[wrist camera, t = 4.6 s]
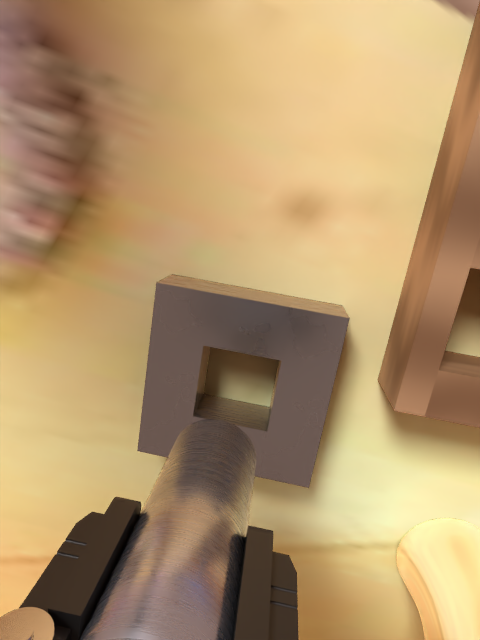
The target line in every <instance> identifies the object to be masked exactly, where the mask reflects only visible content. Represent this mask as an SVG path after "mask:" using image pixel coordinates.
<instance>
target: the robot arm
mask: <svg viewBox="0 0 480 640" xmlns="http://www.w3.org/2000/svg"><path fill="white" fill-rule="evenodd" d="M140 512H141V502H139V501H134V500H129V499H125V498H120V497H115V498H114V499H113V501H112V502H111V504H110V506H109V507H108V509H107V511H106V512H105V514H100V513H96V512H91V513H90V514H88V515H87V516H86V517H84V518H83V519H82V520H80V521H79V522H77V523H76V525H75V526H74V528H73V529H72V531H71V532H70V533H69V535H68V536H67V538H66V541H65V542H63V544H62V545H61V547H60V548H59V550H58V551H57V554H56V555H55V556H54V557H53V559H52V560H51V562H50V563H49V565H48V566H47V568H46V569H45V571H44V572H43V574H42V575H41V577H40V578H39V580H38V581H37V583H36V584H35V586H34V587H33V589H32V590H31V592H30V593H29V595H28V596H27V598H26V599H25V601H24V602H23V604H22V605H21V606H20V607H19V609H16V610H13V611H11V612H8V613H7V614H5V615H3V616H2V617H0V640H80V638H81V636H82V634H83V632H84V630H85V628H86V626H87V623H88V621H89V619H90V617H91V615H92V613H93V611H94V609H95V607H96V605H97V603H98V601H99V599H100V597H101V594H102V592H103V590H104V588H105V586H106V584H107V582H108V580H109V578H110V576H111V574H112V572H113V570H114V568H115V565H116V563H117V561H118V559H119V557H120V555H121V553H122V551H123V549H124V547H125V545H126V543H127V541H128V539H129V536H130V534H131V532H132V530H133V528H134V526H135V524H136V522H137V520H138V518H139V516H140ZM272 550H273V531H271V530H266V529H262V528H257V527H252V526H248V528H247V533H246V538H245V546H244V554H243V562H242V569H241V577H240V585H239V593H238V600H237V608H236V616H235V624H234V631H233V639H232V640H298V610H297V607H298V605H297V572H296V570H295V568H294V566H293V563H292V561H291V559H290V557H289V555H285V554H280V553H276V552H272Z"/></svg>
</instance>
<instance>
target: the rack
mask: <svg viewBox="0 0 480 640" xmlns="http://www.w3.org/2000/svg"><path fill="white" fill-rule="evenodd" d="M470 268H475V269H480V2H479V6H478V10H477V13H476V17H475V21H474V24H473V28H472V32H471V35H470V39H469V43H468V47H467V50H466V54H465V58H464V61H463V65H462V69H461V73H460V76H459V80H458V84H457V87H456V91H455V95H454V99H453V102H452V106H451V110H450V114H449V117H448V121H447V125H446V128H445V132H444V136H443V140H442V143H441V147H440V151H439V154H438V158H437V162H436V166H435V169H434V173H433V177H432V180H431V184H430V188H429V192H428V195H427V199H426V203H425V206H424V210H423V214H422V218H421V221H420V225H419V229H418V232H417V236H416V240H415V244H414V247H413V251H412V255H411V258H410V262H409V266H408V270H407V273H406V277H405V281H404V284H403V288H402V292H401V296H400V299H399V303H398V307H397V310H396V314H395V318H394V322H393V325H392V329H391V333H390V336H389V340H388V344H387V348H386V351H385V355H384V359H383V363H382V366H381V370H380V374H379V377H378V382H379V383H380V385H381V387H382V389H383V391H384V393H385V395H386V397H387V398H388V400H389V402H390V404H391V406H392V408H393V410H394V411H398V412H403V413H408V414H413V415H418V416H423V417H428V418H433V419H438V420H443V421H448V422H453V423H459V424H464V425H469V426H474V427H479V428H480V357H475V356H470V355H464V354H459V353H454V352H448V351H445V348H446V345H447V342H448V339H449V335H450V332H451V329H452V326H453V322H454V319H455V316H456V313H457V309H458V306H459V303H460V300H461V296H462V293H463V290H464V287H465V284H466V280H467V277H468V274H469V271H470Z"/></svg>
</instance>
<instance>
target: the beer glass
mask: <svg viewBox="0 0 480 640" xmlns="http://www.w3.org/2000/svg"><path fill="white" fill-rule="evenodd" d="M396 561H397V567H398V570H399V573H400V575H401V577H402V579H403V581H404V583H405V585H406V587H407V589H408V590H409V592H410V594H411V596H412V598H413V600H414V602H415V604H416V606H417V609H418V612H419V614H420V618H421V622H422V625H423V631H424V637H425V640H480V528H478V527H477V526H475V525H473V524H471V523H469V522H467V521H464V520H460V519H454V518H438V519H432V520H428V521H425V522H423V523H421V524H419V525H417V526H415V527H414V528H412V529H411V530H410V531H409V532H407V533H406V535H405V536H404V537H403V538H402V540H401V542H400V544H399V546H398V549H397V554H396Z"/></svg>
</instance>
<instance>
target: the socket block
mask: <svg viewBox="0 0 480 640" xmlns="http://www.w3.org/2000/svg"><path fill="white" fill-rule="evenodd" d="M348 322H349V316H348V315H347V313H346V311H345V310H344V308H343V306H342V305H336V304H331V303H325V302H320V301H314V300H309V299H303V298H298V297H292V296H287V295H282V294H276V293H271V292H265V291H260V290H254V289H249V288H243V287H238V286H232V285H227V284H221V283H216V282H211V281H205V280H200V279H194V278H189V277H183V276H178V275H170V276H168V277H166V278H164V279H162V280H160V281H158V282H157V283H156V292H155V301H154V310H153V319H152V327H151V336H150V345H149V354H148V363H147V372H146V380H145V389H144V398H143V407H142V416H141V425H140V433H139V442H138V451H140V452H145V453H149V454H154V455H159V456H163V457H168V456H169V454H170V452H171V450H172V447H173V445H174V443H175V441H176V439H177V437H178V436H179V434H180V433H181V432H182V431H183V430H184V429H185V428H186V427H187V426H189V425H190V424H192V423H194V422H197V421H200V420H204V419H219V420H223V421H227V422H229V423H232V424H234V425H235V426H237V427H239V428H240V429H241V430H242V431H243V432H245V433H246V435H247V436H248V437H249V438H250V440H251V441H252V443H253V445H254V448H255V452H256V468H255V476H257V477H261V478H266V479H271V480H275V481H280V482H285V483H289V484H294V485H299V486H303V487H308V488H309V485H310V481H311V476H312V472H313V468H314V464H315V460H316V456H317V451H318V447H319V443H320V439H321V435H322V431H323V426H324V422H325V418H326V414H327V410H328V406H329V401H330V397H331V393H332V389H333V385H334V381H335V376H336V372H337V368H338V364H339V360H340V356H341V351H342V347H343V343H344V339H345V335H346V331H347V326H348ZM211 347H213V348H219V349H224V350H229V351H234V352H239V353H244V354H249V355H255V356H260V357H265V358H270V359H275V360H279V363H278V368H277V373H276V378H275V383H274V388H273V393H272V398H271V403H270V407H265V406H260V405H255V404H250V403H245V402H240V401H235V400H230V399H225V398H221V397H216V396H211V395H206V394H204V388H205V381H206V375H207V368H208V362H209V355H210V348H211Z"/></svg>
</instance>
